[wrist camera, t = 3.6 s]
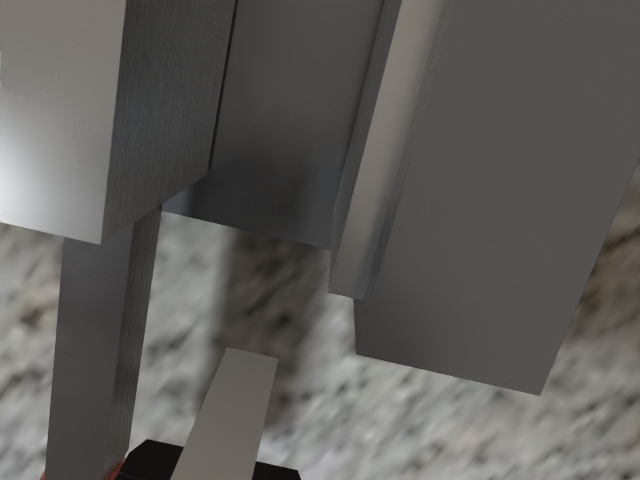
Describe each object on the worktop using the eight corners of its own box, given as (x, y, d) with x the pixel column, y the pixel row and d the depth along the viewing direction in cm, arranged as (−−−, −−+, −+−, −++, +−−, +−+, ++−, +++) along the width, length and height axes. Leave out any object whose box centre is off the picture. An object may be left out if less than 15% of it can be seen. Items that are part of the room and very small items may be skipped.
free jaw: (76, 459, 18) (-76, 672, 12) (145, -210, 12) (-84, -551, 6) (157, 476, 19) (53, 697, 12) (264, -180, 13) (176, -480, 6)
